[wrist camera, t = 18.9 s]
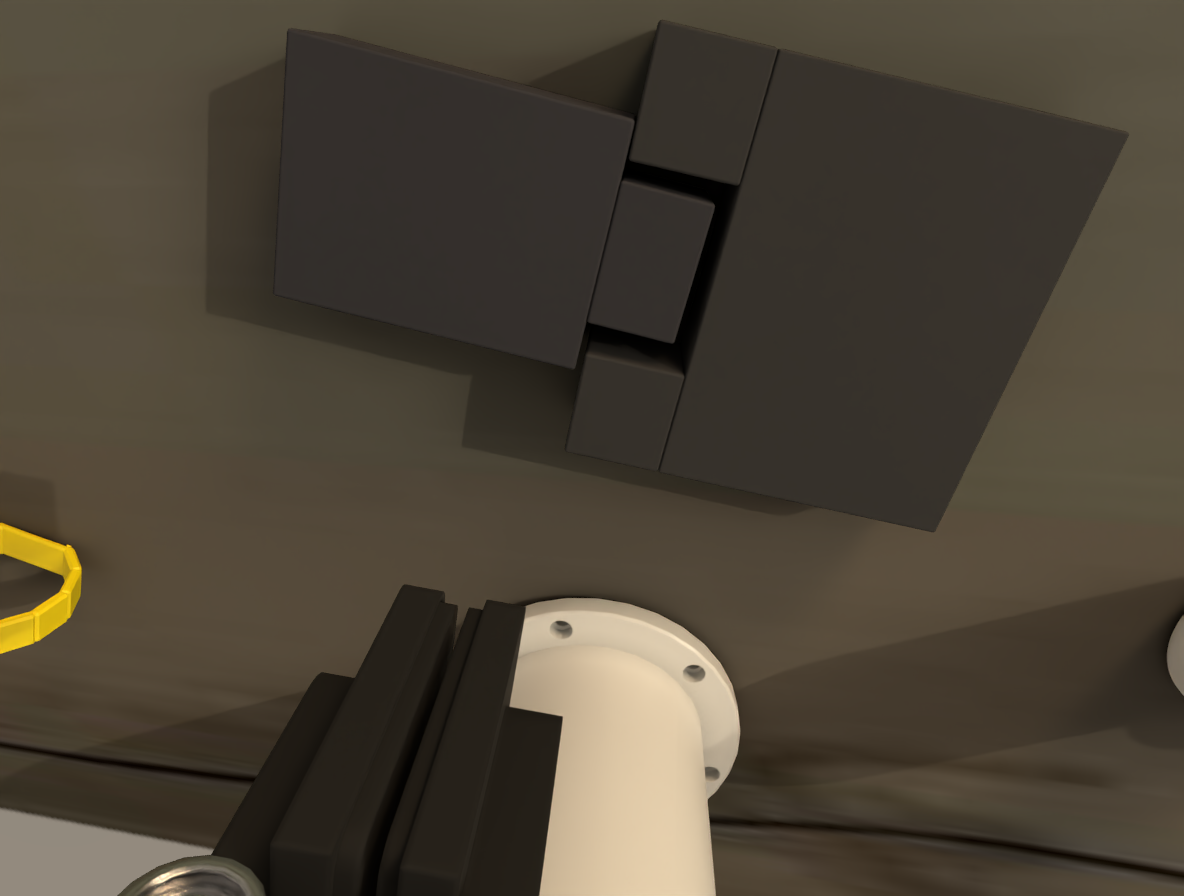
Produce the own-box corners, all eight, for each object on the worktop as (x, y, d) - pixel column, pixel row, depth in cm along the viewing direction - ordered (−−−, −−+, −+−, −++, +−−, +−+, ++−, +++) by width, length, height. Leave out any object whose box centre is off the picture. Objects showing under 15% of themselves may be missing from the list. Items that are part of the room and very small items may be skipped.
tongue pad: (657, 356, 26) (659, 392, 23) (314, 270, 25) (271, 295, 22) (722, 137, 22) (734, 145, 20) (332, 33, 22) (285, 27, 19)
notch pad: (904, 485, 27) (935, 533, 24) (572, 412, 27) (563, 452, 24) (1067, 125, 22) (1131, 132, 19) (657, 26, 21) (659, 18, 18)
